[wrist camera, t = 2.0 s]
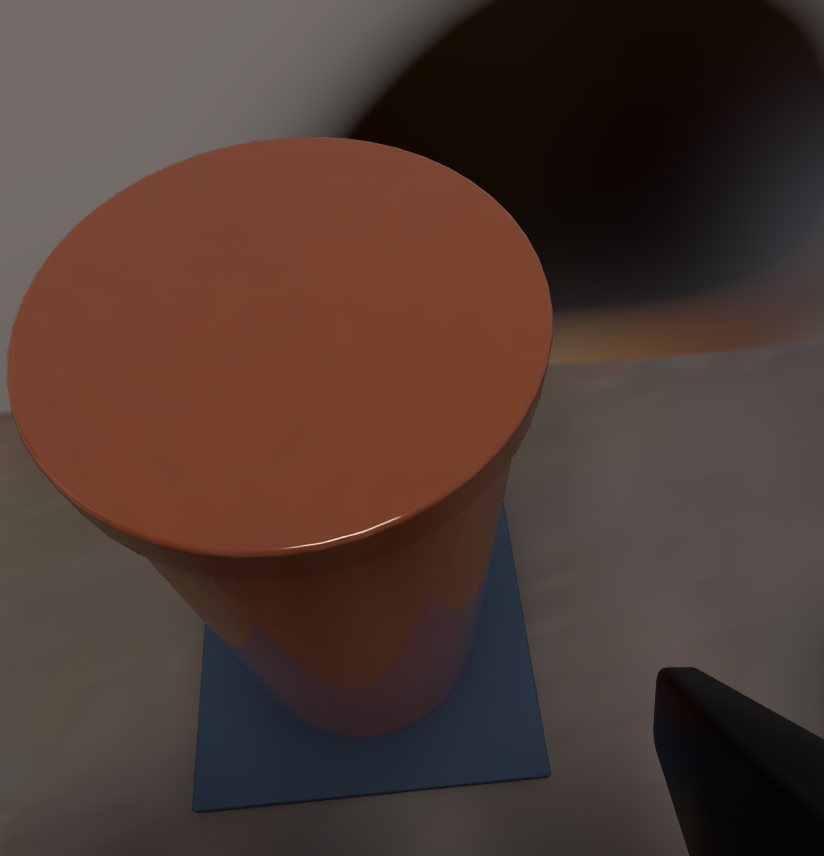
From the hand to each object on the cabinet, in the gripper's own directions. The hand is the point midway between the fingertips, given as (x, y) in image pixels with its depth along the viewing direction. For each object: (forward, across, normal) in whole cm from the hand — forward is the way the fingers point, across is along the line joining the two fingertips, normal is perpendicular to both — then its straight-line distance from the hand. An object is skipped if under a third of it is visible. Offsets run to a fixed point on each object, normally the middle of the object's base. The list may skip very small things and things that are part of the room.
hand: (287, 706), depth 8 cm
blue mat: (+11, 0, +5) cm, 12 cm away
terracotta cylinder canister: (+11, 0, +4) cm, 12 cm away
